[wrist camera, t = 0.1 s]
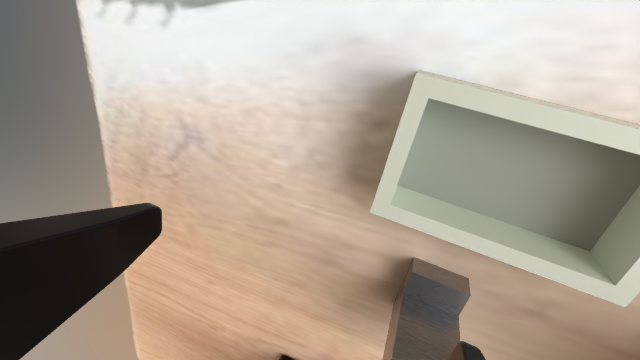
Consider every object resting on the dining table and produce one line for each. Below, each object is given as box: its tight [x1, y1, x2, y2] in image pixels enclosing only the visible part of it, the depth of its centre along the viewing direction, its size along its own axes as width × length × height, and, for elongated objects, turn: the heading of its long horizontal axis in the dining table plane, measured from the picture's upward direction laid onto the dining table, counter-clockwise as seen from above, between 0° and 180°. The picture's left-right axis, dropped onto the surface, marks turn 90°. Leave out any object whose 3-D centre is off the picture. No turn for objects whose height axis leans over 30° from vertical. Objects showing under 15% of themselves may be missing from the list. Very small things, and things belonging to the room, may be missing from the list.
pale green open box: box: [370, 70, 640, 308], centre depth 17 cm, size 8×14×4 cm, turn 78°
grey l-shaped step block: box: [383, 257, 470, 360], centre depth 21 cm, size 5×4×8 cm
